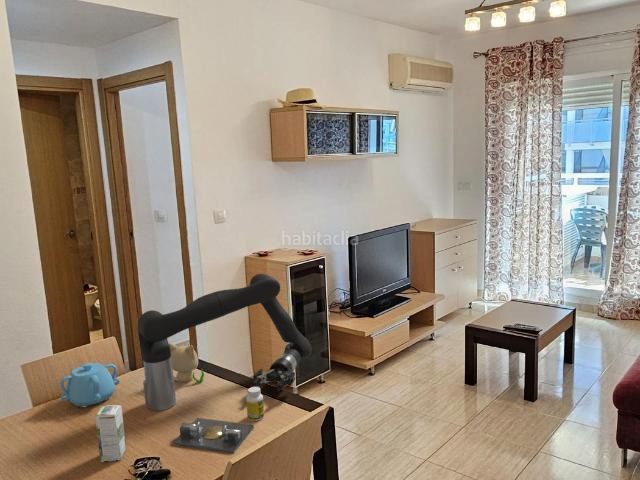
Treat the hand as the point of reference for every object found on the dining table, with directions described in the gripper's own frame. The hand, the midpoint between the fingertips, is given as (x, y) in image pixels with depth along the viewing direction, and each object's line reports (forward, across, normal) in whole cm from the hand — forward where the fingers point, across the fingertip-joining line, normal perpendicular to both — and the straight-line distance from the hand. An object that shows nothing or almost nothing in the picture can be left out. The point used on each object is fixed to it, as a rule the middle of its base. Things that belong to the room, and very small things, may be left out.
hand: (266, 386), depth 174 cm
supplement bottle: (+10, 0, +6) cm, 11 cm away
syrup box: (+39, -32, +6) cm, 51 cm away
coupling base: (+23, -8, +6) cm, 25 cm away
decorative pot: (+10, -64, +6) cm, 65 cm away
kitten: (-10, -38, +6) cm, 40 cm away
